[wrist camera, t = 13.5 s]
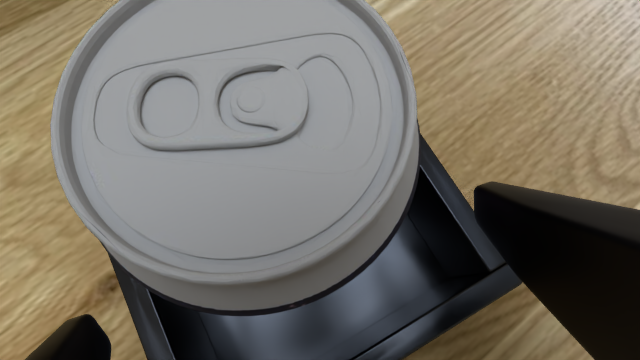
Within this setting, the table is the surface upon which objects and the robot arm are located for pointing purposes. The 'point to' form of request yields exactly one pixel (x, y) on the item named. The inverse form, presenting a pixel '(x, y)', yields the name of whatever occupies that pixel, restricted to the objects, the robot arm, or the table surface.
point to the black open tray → (353, 294)
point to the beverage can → (239, 146)
